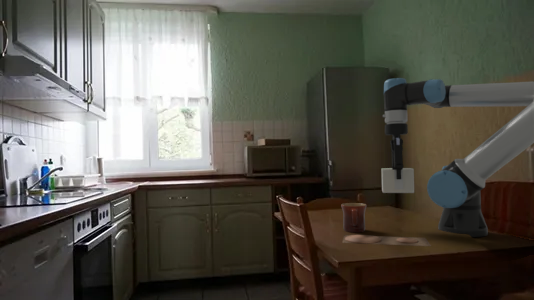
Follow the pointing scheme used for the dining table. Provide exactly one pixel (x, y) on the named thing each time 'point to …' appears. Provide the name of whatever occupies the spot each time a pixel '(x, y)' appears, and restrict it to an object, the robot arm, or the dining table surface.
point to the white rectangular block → (389, 181)
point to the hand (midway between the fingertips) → (397, 187)
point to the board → (385, 240)
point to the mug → (354, 217)
